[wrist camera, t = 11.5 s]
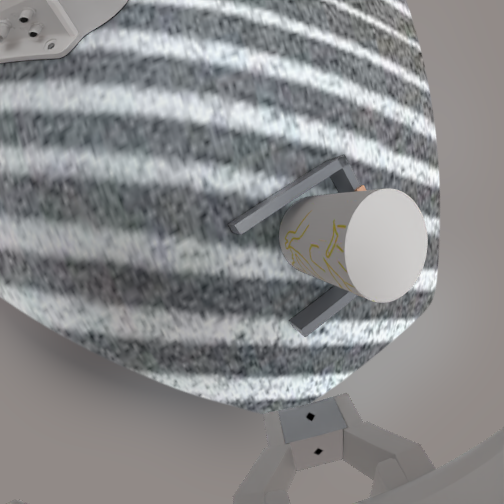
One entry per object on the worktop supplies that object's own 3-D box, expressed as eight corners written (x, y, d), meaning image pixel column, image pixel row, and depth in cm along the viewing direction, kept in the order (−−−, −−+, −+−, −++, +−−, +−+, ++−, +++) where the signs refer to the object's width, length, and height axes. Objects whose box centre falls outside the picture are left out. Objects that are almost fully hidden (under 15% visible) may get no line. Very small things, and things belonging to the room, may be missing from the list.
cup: (264, 219, 30) (325, 222, 18) (328, 183, 31) (406, 171, 20) (300, 288, 32) (368, 324, 20) (357, 248, 33) (437, 264, 22)
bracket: (293, 327, 32) (307, 339, 29) (227, 224, 29) (235, 225, 26) (378, 258, 34) (398, 262, 31) (329, 159, 31) (347, 153, 28)
